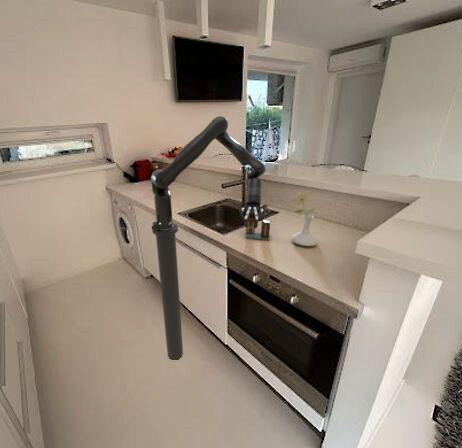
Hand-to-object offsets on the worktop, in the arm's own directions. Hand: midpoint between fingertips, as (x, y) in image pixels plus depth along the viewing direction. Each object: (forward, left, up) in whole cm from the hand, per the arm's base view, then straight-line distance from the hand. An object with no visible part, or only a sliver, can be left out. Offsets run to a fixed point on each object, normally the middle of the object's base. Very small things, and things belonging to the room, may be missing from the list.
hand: (250, 227), depth 122 cm
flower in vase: (+20, -14, -6) cm, 25 cm away
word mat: (+4, 0, -6) cm, 7 cm away
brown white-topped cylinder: (+7, -2, -5) cm, 9 cm away
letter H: (+1, +2, -4) cm, 4 cm away
